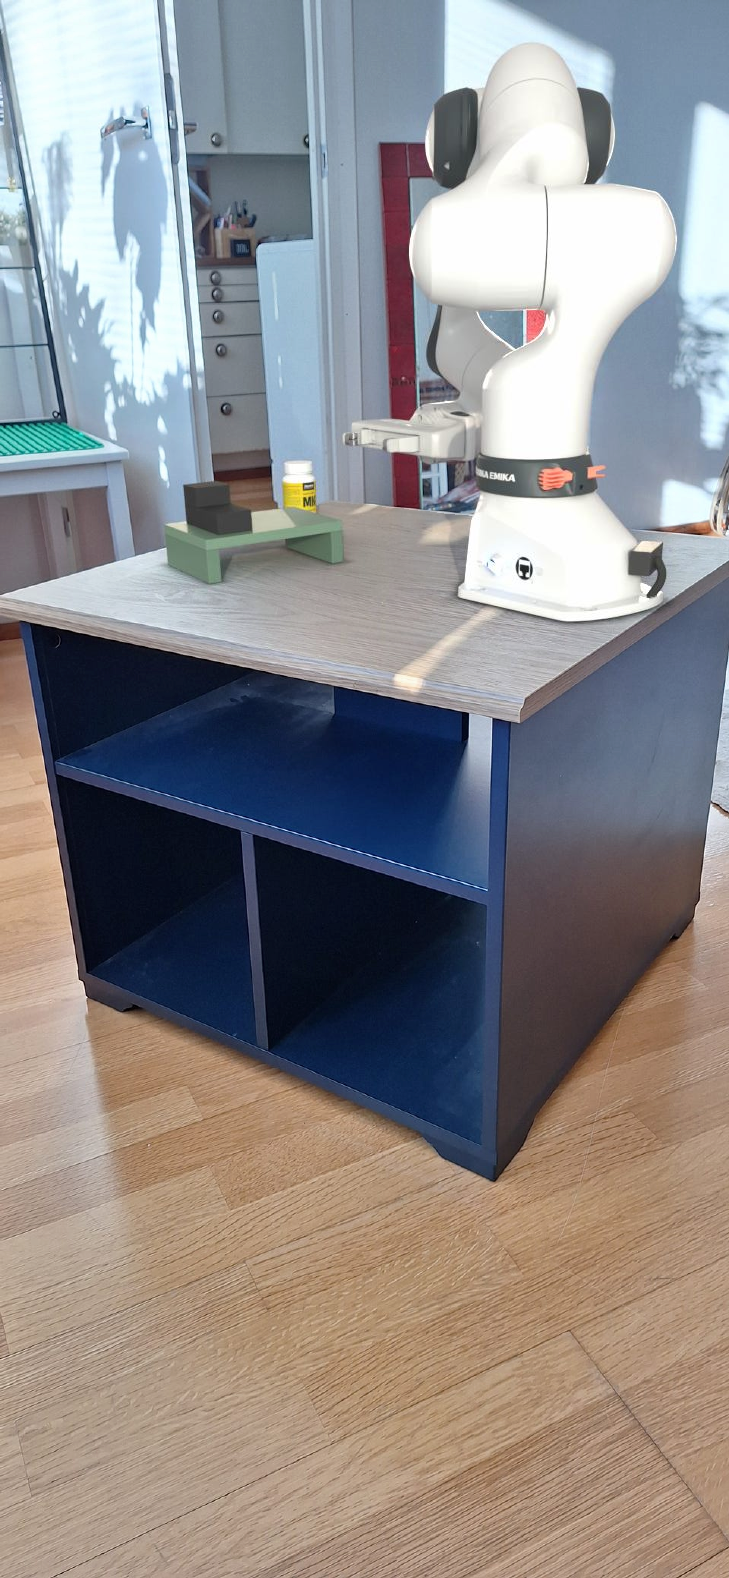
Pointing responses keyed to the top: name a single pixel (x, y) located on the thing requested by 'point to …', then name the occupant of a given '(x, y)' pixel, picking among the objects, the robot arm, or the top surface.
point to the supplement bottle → (299, 486)
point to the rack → (253, 540)
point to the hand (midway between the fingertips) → (365, 442)
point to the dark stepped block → (214, 509)
